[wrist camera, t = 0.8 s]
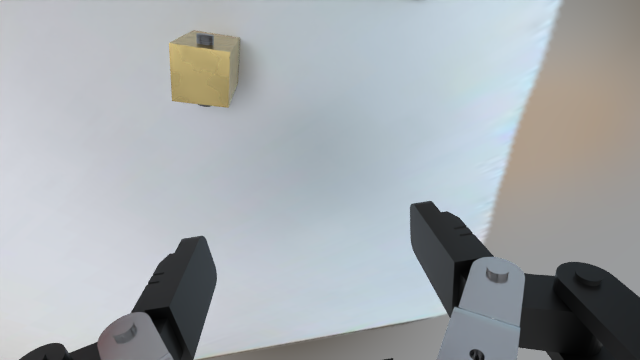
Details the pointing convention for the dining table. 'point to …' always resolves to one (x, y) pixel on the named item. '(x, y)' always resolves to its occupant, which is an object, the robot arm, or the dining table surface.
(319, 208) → the dining table surface
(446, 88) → the dining table surface
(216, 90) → the tan block with knob
